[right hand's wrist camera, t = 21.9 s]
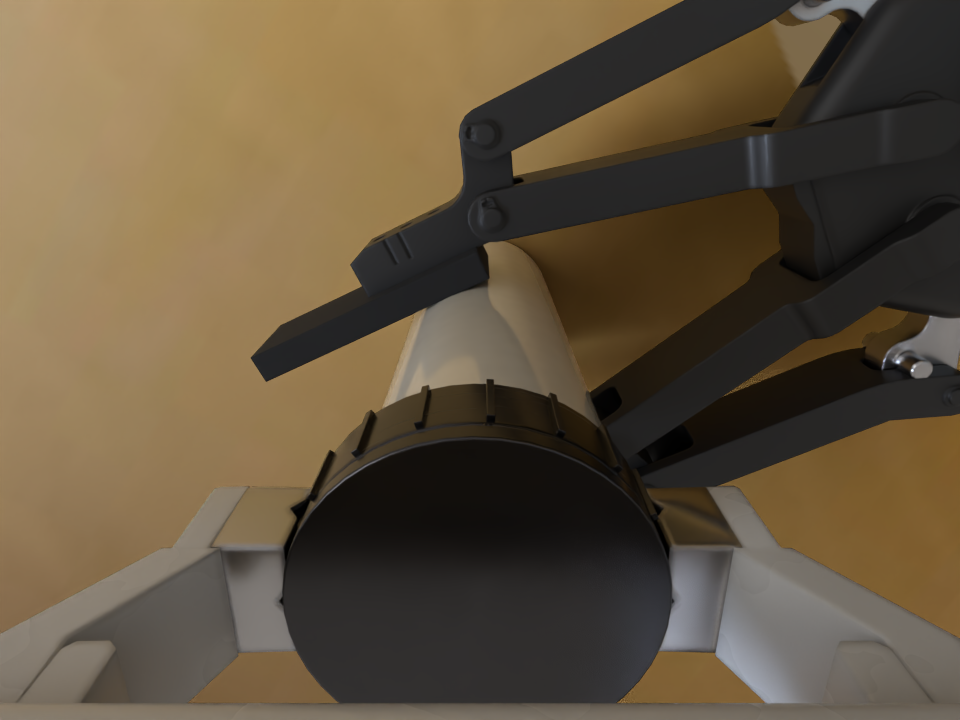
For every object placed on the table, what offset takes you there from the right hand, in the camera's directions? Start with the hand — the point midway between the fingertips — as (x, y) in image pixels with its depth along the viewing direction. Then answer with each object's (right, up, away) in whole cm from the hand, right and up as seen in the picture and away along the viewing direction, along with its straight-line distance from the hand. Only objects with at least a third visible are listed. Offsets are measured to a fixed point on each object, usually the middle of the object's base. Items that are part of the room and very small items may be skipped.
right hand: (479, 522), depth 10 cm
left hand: (-5, +1, +9) cm, 10 cm away
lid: (0, -1, -2) cm, 2 cm away
